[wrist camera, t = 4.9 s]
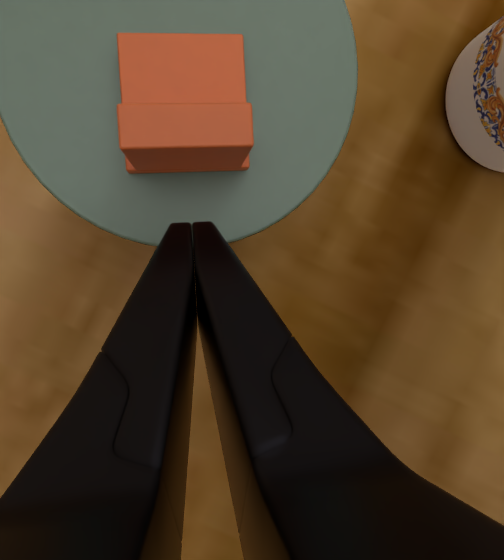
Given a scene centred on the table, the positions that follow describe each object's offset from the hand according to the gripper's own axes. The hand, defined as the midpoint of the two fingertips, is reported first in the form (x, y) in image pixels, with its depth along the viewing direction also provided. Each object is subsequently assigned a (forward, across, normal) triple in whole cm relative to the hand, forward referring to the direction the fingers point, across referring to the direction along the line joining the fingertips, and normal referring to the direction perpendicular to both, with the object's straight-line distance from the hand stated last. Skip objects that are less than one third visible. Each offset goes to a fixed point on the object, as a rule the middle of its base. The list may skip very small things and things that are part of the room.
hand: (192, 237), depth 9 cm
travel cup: (+11, 0, +5) cm, 12 cm away
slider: (+4, 0, -2) cm, 4 cm away
